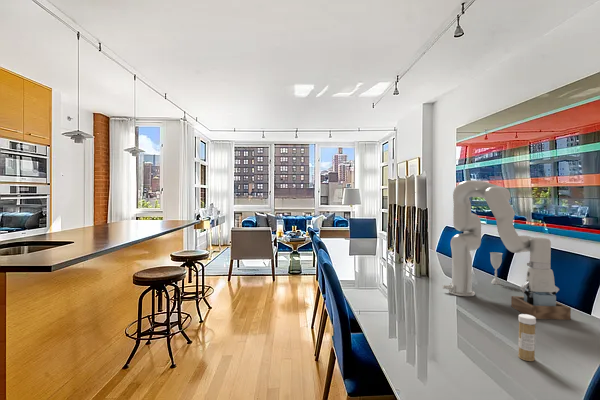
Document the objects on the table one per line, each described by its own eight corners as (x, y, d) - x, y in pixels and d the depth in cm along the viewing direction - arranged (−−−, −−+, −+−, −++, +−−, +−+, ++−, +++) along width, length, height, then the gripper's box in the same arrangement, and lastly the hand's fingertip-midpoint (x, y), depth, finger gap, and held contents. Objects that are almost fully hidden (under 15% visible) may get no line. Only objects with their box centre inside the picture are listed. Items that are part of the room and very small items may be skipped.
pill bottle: (519, 353, 112) (520, 312, 111) (536, 358, 108) (537, 315, 108) (516, 358, 108) (517, 315, 108) (533, 363, 105) (534, 319, 105)
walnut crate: (531, 318, 145) (532, 306, 145) (511, 306, 161) (511, 296, 161) (570, 319, 144) (570, 307, 144) (546, 307, 160) (546, 297, 160)
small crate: (538, 311, 147) (539, 295, 147) (523, 303, 158) (523, 288, 158) (555, 312, 147) (556, 295, 147) (539, 304, 158) (539, 289, 158)
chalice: (504, 285, 202) (504, 254, 201) (491, 284, 203) (492, 253, 203) (499, 282, 209) (500, 252, 209) (487, 281, 210) (488, 251, 210)
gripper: (524, 267, 149) (523, 308, 149) (566, 268, 148) (565, 309, 148) (514, 263, 157) (514, 302, 157) (554, 264, 156) (553, 304, 156)
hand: (539, 305), depth 152 cm, fingers closed on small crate, 6 cm apart
